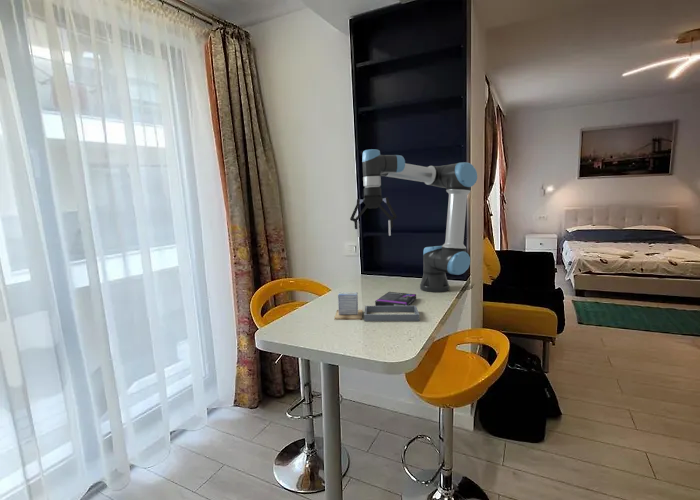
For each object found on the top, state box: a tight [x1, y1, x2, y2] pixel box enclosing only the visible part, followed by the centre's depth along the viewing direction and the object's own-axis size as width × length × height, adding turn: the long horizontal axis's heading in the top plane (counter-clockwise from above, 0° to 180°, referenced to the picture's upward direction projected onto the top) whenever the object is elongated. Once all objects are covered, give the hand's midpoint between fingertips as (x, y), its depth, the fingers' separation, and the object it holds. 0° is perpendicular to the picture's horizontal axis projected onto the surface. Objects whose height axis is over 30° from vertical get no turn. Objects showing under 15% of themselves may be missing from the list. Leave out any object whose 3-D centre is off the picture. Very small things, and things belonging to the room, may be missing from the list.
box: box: [374, 291, 417, 306], centre depth 170 cm, size 14×4×20 cm
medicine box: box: [337, 291, 359, 315], centre depth 152 cm, size 8×4×9 cm, turn 86°
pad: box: [334, 309, 364, 321], centre depth 152 cm, size 11×11×1 cm
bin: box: [363, 305, 420, 322], centre depth 150 cm, size 22×13×2 cm, turn 86°
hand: (374, 236), depth 160 cm, fingers open, 13 cm apart
